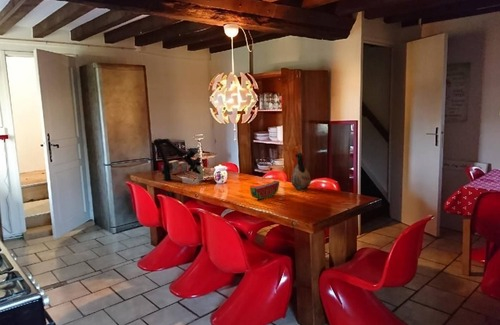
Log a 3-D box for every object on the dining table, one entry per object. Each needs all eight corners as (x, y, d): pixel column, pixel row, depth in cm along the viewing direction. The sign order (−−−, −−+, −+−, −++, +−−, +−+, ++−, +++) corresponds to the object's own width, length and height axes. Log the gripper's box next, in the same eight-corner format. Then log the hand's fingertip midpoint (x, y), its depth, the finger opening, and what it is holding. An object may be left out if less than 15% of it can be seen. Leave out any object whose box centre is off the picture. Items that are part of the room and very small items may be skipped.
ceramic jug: (289, 187, 298) (288, 151, 293) (308, 186, 299) (307, 149, 294) (293, 193, 282) (293, 154, 276) (313, 192, 283) (313, 153, 277)
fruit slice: (255, 202, 263) (255, 188, 261) (249, 200, 267) (249, 187, 266) (280, 194, 281) (279, 181, 279) (274, 192, 285) (273, 180, 283)
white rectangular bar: (182, 182, 331) (182, 178, 331) (184, 182, 333) (184, 177, 332) (197, 184, 321) (197, 180, 320) (199, 184, 323) (199, 179, 322)
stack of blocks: (182, 170, 387) (181, 158, 384) (186, 170, 383) (185, 159, 380) (166, 174, 370) (165, 162, 368) (170, 174, 366) (169, 162, 364)
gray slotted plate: (201, 181, 333) (200, 167, 330) (198, 181, 333) (197, 167, 331) (203, 179, 338) (202, 165, 336) (200, 179, 339) (199, 165, 337)
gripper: (190, 156, 324) (203, 169, 323) (198, 153, 341) (210, 164, 341) (183, 165, 327) (195, 177, 326) (191, 161, 345) (203, 173, 344)
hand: (201, 173), depth 334 cm, fingers closed on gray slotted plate, 6 cm apart
